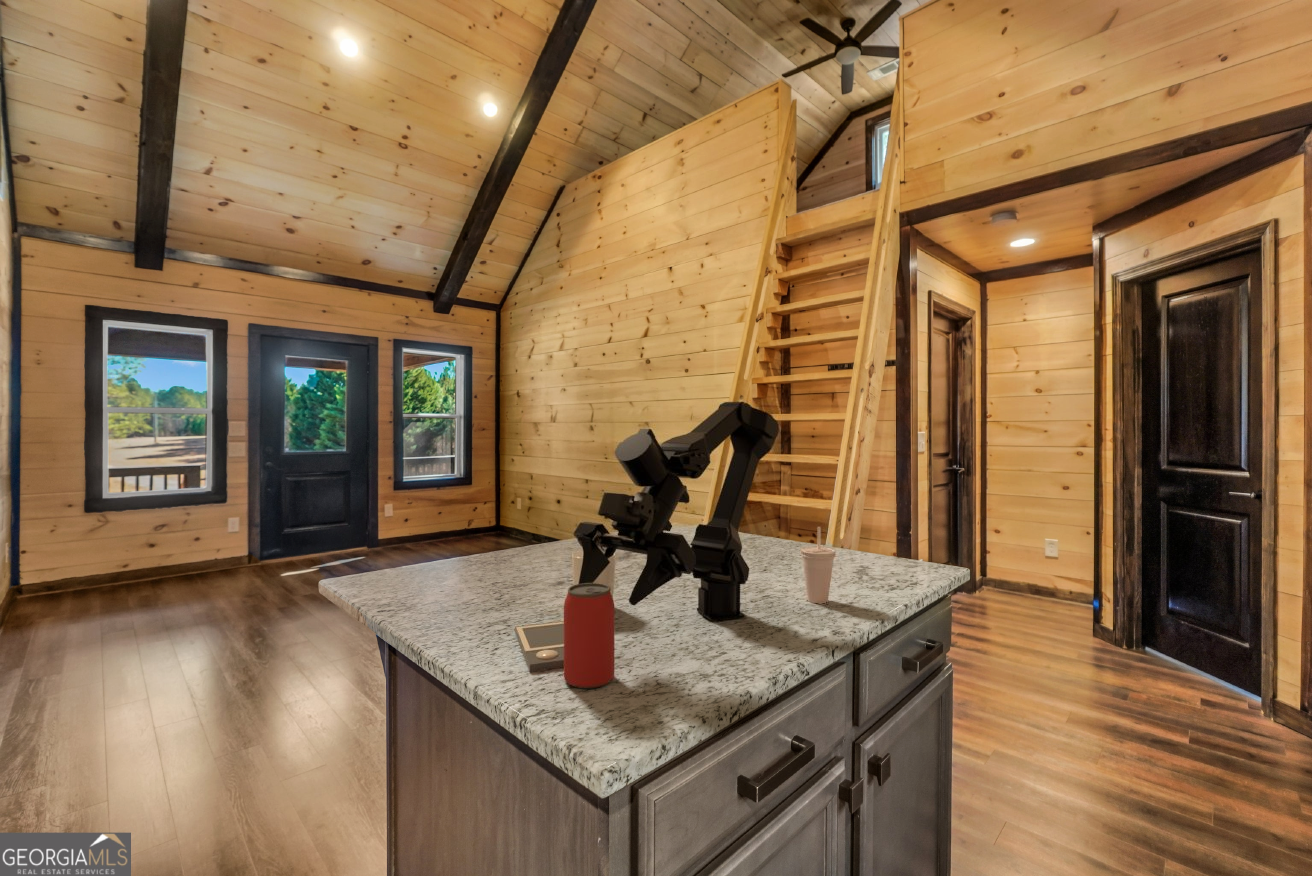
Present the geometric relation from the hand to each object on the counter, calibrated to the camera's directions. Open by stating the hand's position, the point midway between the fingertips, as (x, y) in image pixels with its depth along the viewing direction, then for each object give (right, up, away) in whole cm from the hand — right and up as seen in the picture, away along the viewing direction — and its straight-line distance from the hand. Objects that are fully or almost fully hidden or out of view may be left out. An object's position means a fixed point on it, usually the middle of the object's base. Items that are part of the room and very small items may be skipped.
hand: (604, 597), depth 80 cm
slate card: (-8, -10, +9) cm, 16 cm away
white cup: (-4, -10, +28) cm, 30 cm away
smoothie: (+38, -10, +33) cm, 51 cm away
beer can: (-2, -10, -2) cm, 11 cm away
